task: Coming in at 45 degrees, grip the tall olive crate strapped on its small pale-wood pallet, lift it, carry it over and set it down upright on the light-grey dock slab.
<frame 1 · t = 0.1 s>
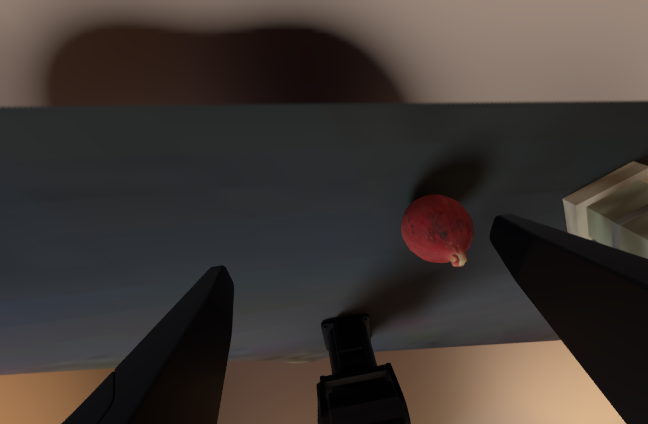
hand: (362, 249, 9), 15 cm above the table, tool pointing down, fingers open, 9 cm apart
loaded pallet: (597, 202, 29), on the table
onion: (416, 205, 26), on the table
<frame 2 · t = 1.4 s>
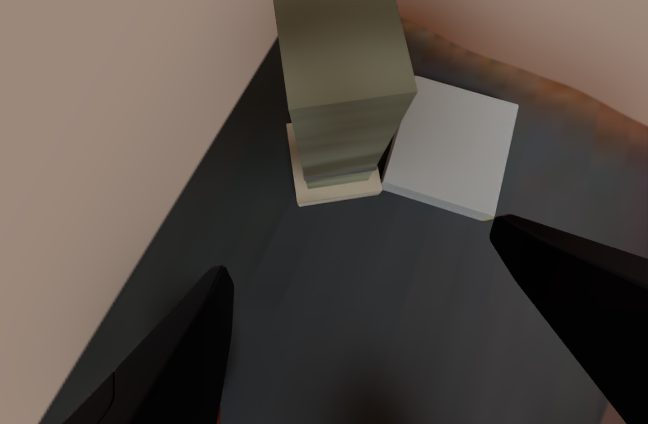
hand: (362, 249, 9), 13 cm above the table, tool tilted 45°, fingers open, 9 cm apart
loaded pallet: (332, 162, 23), on the table
dock: (441, 152, 23), on the table
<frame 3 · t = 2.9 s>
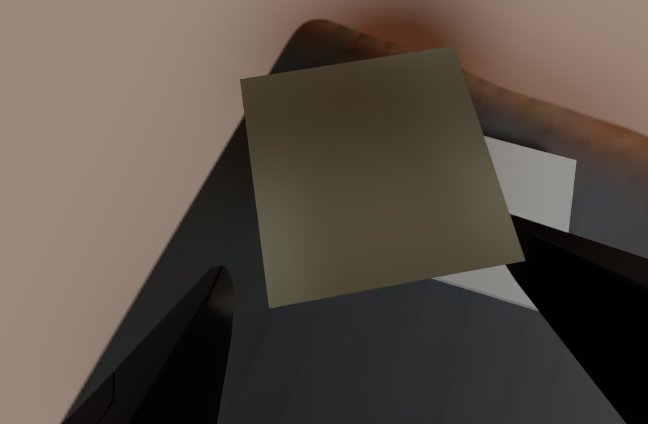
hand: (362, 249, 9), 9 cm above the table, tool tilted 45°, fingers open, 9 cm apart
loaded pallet: (339, 235, 18), on the table
dock: (477, 218, 18), on the table
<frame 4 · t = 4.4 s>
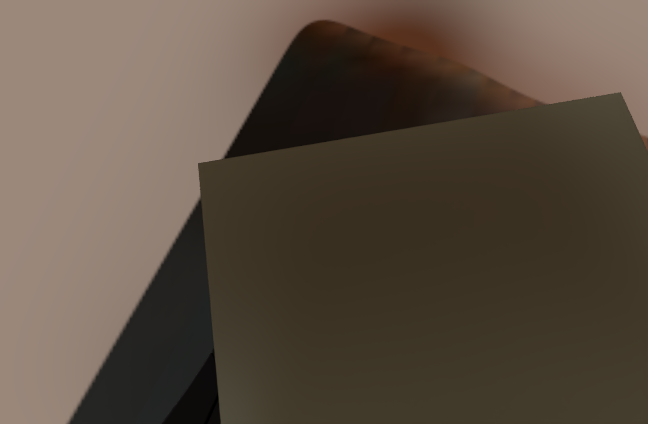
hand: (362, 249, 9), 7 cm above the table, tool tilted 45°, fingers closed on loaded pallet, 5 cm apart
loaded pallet: (350, 279, 15), on the table, touching gripper
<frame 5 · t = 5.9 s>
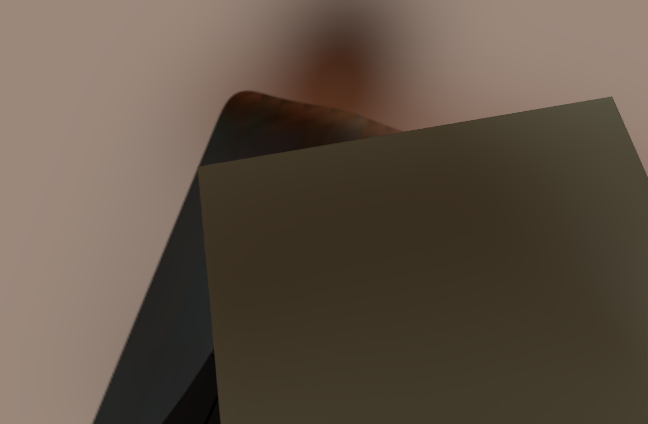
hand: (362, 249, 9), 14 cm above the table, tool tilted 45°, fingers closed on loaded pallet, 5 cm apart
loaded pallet: (349, 279, 15), point 6 cm above the table, touching gripper
when the fingers open (10 cm above the table, at t = 7.4 s): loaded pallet stays where it is, resting on dock.
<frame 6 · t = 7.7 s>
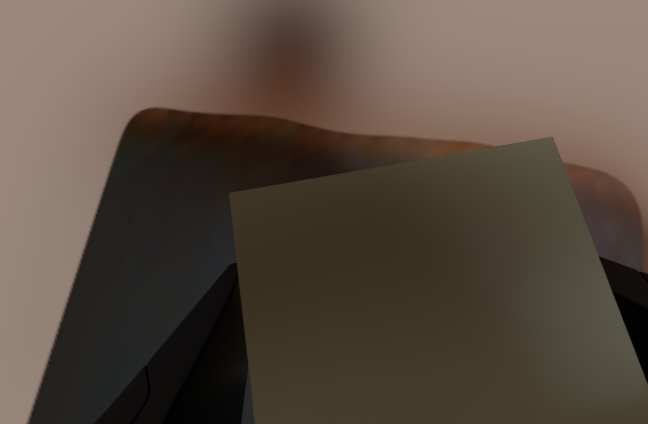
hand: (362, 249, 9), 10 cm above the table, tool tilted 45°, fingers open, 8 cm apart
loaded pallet: (348, 279, 16), point 2 cm above the table, touching dock
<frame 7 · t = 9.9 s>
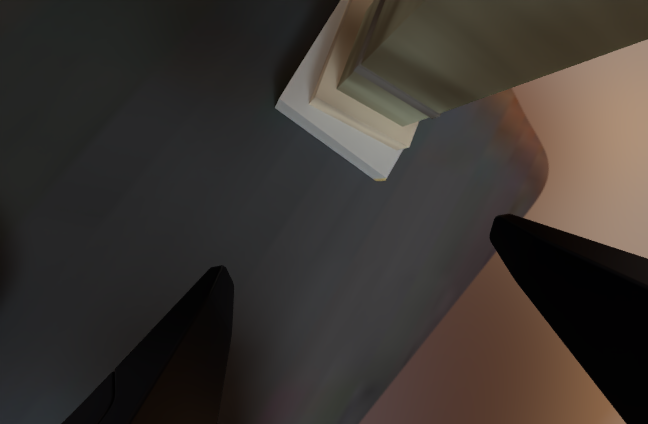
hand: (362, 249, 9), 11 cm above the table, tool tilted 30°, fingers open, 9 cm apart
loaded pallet: (373, 80, 18), point 2 cm above the table, touching dock
dock: (361, 90, 20), on the table
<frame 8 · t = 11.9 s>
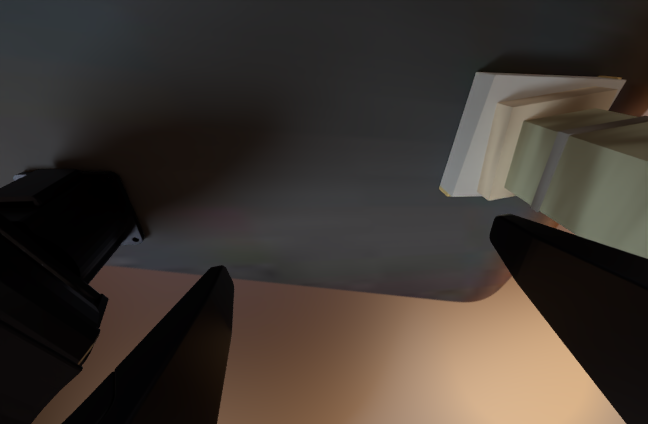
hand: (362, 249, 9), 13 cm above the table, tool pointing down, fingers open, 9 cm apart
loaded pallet: (530, 143, 20), point 2 cm above the table, touching dock
dock: (512, 135, 21), on the table
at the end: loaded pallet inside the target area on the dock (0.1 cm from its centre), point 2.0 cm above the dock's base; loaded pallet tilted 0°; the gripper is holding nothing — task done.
